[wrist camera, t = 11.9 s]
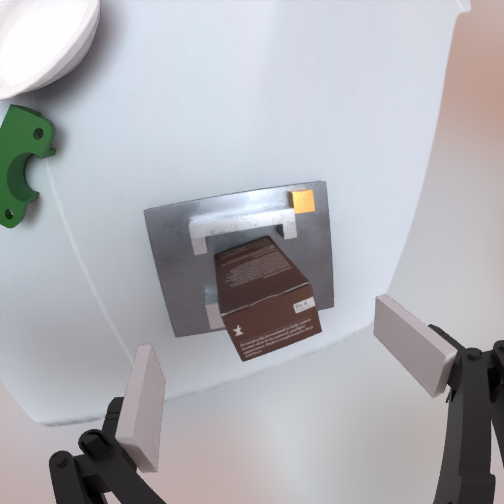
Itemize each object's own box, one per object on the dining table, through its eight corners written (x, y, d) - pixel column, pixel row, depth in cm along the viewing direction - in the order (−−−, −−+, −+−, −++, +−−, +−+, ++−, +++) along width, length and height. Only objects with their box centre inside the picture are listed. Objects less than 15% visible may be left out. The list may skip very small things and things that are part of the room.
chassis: (176, 332, 32) (173, 350, 28) (145, 209, 28) (137, 214, 24) (330, 303, 33) (342, 316, 30) (322, 180, 29) (335, 183, 26)
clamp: (47, 195, 29) (14, 244, 23) (11, 177, 27) (-26, 222, 20) (75, 110, 23) (32, 144, 17) (34, 91, 21) (-16, 121, 14)
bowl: (150, 44, 23) (132, 6, 15) (35, 141, 24) (-11, 138, 15) (93, -26, 18) (71, -62, 10) (-4, 58, 19) (-43, 43, 11)
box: (228, 293, 30) (240, 365, 19) (212, 254, 29) (215, 310, 17) (283, 273, 30) (325, 334, 19) (270, 233, 29) (310, 276, 18)
